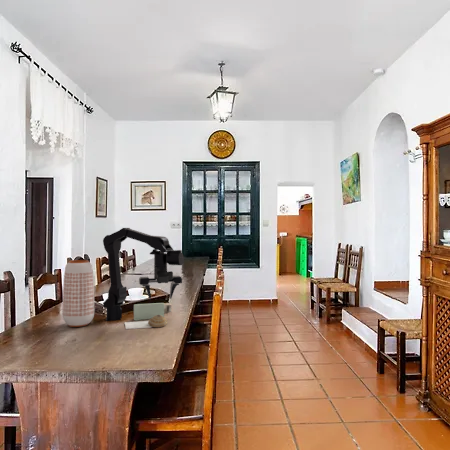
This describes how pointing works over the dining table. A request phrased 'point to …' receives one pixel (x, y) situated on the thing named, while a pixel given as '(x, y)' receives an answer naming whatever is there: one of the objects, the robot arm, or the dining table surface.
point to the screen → (148, 311)
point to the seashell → (157, 321)
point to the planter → (78, 293)
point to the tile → (137, 325)
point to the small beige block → (167, 307)
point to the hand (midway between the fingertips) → (160, 299)
